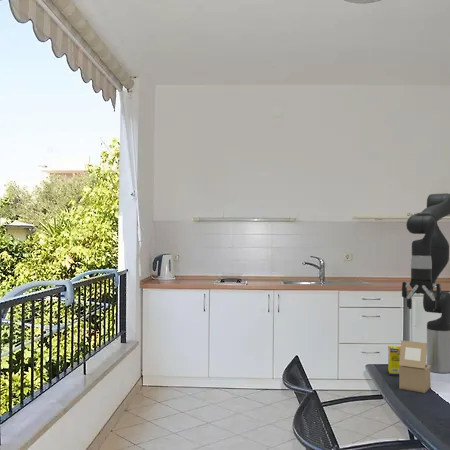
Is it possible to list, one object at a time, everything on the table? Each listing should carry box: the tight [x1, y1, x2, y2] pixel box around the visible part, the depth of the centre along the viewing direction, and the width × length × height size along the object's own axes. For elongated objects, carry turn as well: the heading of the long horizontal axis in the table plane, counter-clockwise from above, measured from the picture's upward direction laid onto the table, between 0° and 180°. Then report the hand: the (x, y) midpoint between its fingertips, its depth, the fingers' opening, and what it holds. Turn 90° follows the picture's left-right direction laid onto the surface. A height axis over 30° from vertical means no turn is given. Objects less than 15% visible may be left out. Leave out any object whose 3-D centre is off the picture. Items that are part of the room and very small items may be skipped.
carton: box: [398, 364, 431, 394], centre depth 192 cm, size 9×9×8 cm
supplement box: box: [387, 345, 401, 377], centre depth 212 cm, size 6×6×11 cm
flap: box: [399, 340, 427, 369], centre depth 189 cm, size 9×9×1 cm
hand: (421, 309), depth 201 cm, fingers open, 8 cm apart
